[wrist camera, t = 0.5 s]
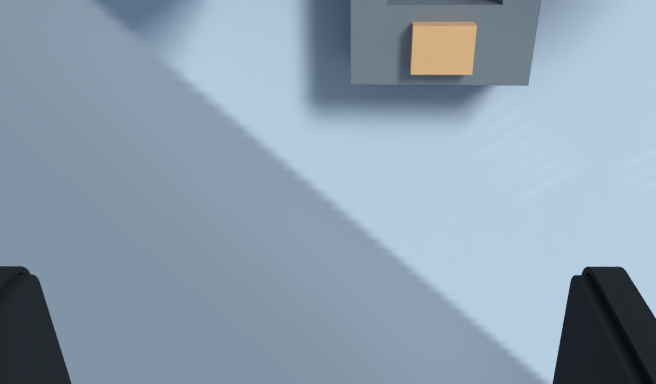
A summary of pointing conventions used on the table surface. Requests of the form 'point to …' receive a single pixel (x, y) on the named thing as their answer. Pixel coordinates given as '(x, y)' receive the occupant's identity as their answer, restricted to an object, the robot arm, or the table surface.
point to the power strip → (490, 44)
